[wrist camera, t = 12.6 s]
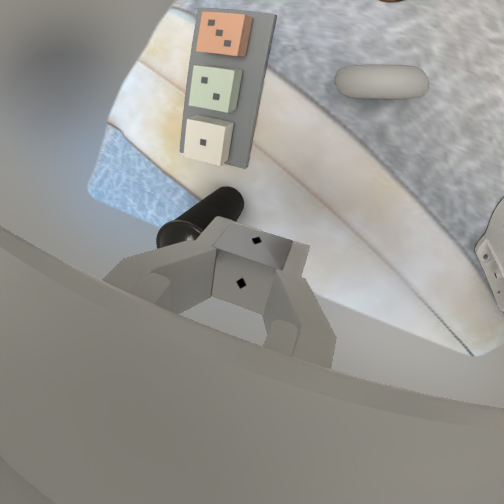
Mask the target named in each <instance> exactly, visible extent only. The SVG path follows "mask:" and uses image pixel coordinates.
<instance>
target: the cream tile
mask: <svg viewBox="0 0 504 504" xmlns="http://www.w3.org/2000/svg"><path fill="white" fill-rule="evenodd" d="M233 125H234V122H229V121H224V120H220V119H215V118H210V117H205V116H200V115H196V116H193V117H191V118H188V119H187V124H186V134H185V144H184V156H183V157H186V158H190V159H194V160H198V161H202V162H206V163H210V164H214V165H218V166H220V165H222V164H223V163H224V162H226V161H227V160H228V157H229V150H230V144H231V137H232V131H233Z"/></svg>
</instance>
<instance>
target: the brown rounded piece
mask: <svg viewBox="0 0 504 504" xmlns="http://www.w3.org/2000/svg"><path fill="white" fill-rule="evenodd" d="M380 1H384V2H395V1H401V0H380Z"/></svg>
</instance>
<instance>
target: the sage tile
mask: <svg viewBox="0 0 504 504" xmlns="http://www.w3.org/2000/svg"><path fill="white" fill-rule="evenodd" d="M242 72H243V70H239V69H233V68H226V67H219V66H212V65H194V67H193V74H192V82H191V89H190V97H189V106H195V107H201V108H206V109H212V110H217V111H222V112H227V113H228V112H231V111H233V110H236V107H237V101H238V95H239V89H240V83H241V78H242Z"/></svg>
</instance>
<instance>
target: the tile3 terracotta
mask: <svg viewBox="0 0 504 504" xmlns="http://www.w3.org/2000/svg"><path fill="white" fill-rule="evenodd" d="M252 19H253V18H252V17H250V16H247V15H244V14H234V13H221V12H202V17H201V23H200V28H199V34H198V41H197V47H196V51H198V52H208V53H217V54H225V55H232V56H246V50H247V45H248V40H249V35H250V30H251V24H252Z"/></svg>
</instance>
